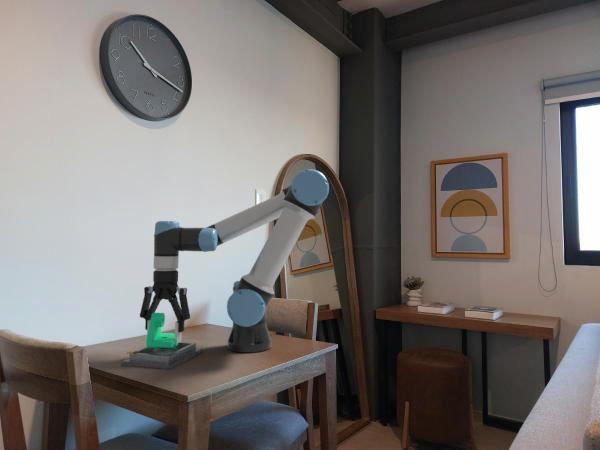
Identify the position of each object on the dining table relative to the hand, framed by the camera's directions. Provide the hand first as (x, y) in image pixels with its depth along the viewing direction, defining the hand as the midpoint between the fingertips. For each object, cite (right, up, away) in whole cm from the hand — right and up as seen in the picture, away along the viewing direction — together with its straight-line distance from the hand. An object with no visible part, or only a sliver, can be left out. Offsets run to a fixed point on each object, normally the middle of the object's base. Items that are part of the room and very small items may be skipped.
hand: (164, 341), depth 135 cm
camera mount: (0, -2, 0) cm, 2 cm away
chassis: (0, -5, 0) cm, 5 cm away
